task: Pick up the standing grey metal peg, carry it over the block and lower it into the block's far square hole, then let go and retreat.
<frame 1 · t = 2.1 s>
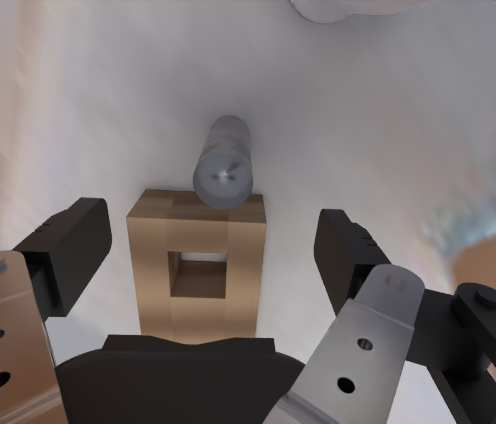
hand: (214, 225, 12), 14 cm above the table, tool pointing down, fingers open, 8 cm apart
peg: (229, 135, 24), on the table
hole block: (204, 283, 31), on the table
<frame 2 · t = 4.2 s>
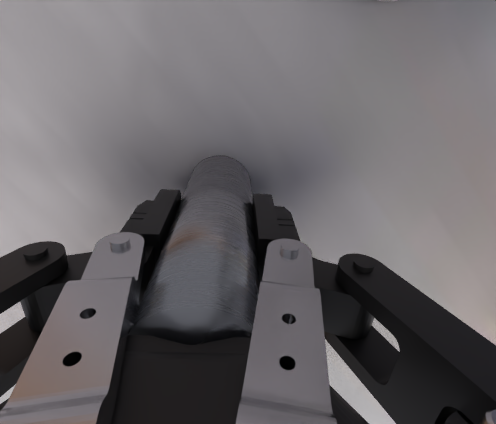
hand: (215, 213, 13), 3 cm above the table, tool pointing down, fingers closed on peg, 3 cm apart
peg: (220, 184, 15), on the table, touching gripper
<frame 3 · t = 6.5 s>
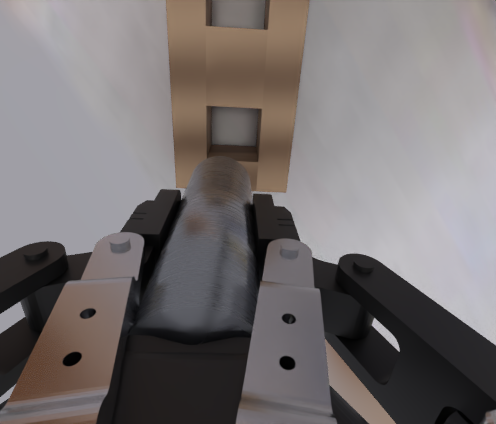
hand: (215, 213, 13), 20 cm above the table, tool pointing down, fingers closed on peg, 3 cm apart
peg: (220, 185, 15), point 17 cm above the table, touching gripper
hole block: (236, 66, 28), on the table
when the fingers open (6 cm above the table, at t = 9.1 s): peg drops 3 cm, resting in hole block.
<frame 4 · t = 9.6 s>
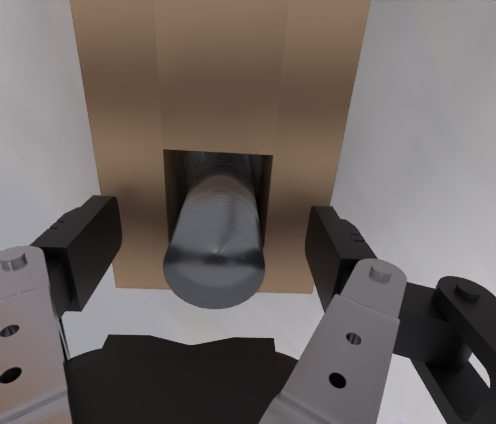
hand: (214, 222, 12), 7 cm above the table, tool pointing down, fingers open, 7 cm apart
peg: (224, 166, 18), resting in hole block
hole block: (225, 72, 16), on the table
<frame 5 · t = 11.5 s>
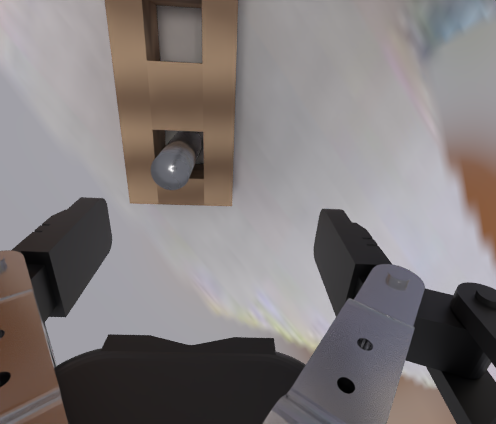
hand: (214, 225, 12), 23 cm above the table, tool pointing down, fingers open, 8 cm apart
peg: (187, 142, 33), resting in hole block
hole block: (184, 92, 31), on the table
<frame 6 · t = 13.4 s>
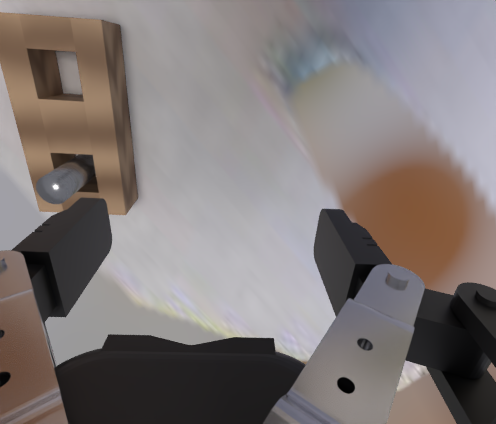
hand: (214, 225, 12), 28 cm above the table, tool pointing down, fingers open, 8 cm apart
peg: (95, 159, 39), resting in hole block
hole block: (87, 119, 37), on the table
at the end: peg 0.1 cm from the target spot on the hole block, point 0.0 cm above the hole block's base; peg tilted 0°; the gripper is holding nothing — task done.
